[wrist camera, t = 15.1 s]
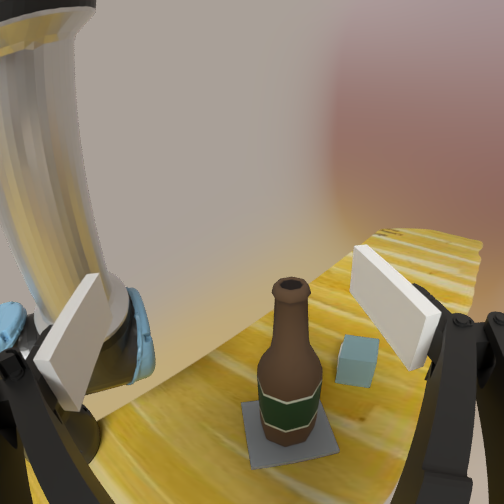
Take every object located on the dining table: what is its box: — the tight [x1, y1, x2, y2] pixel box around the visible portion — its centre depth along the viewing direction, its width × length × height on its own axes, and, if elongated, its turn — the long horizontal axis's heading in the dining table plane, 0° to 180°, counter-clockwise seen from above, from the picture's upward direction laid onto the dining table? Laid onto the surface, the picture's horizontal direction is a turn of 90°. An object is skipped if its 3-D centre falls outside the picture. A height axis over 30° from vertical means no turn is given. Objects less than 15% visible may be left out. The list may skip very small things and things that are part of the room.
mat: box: [241, 399, 339, 470], centre depth 39 cm, size 12×12×1 cm
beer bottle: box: [257, 277, 323, 447], centre depth 34 cm, size 8×8×24 cm
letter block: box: [335, 335, 379, 388], centre depth 47 cm, size 6×6×6 cm
